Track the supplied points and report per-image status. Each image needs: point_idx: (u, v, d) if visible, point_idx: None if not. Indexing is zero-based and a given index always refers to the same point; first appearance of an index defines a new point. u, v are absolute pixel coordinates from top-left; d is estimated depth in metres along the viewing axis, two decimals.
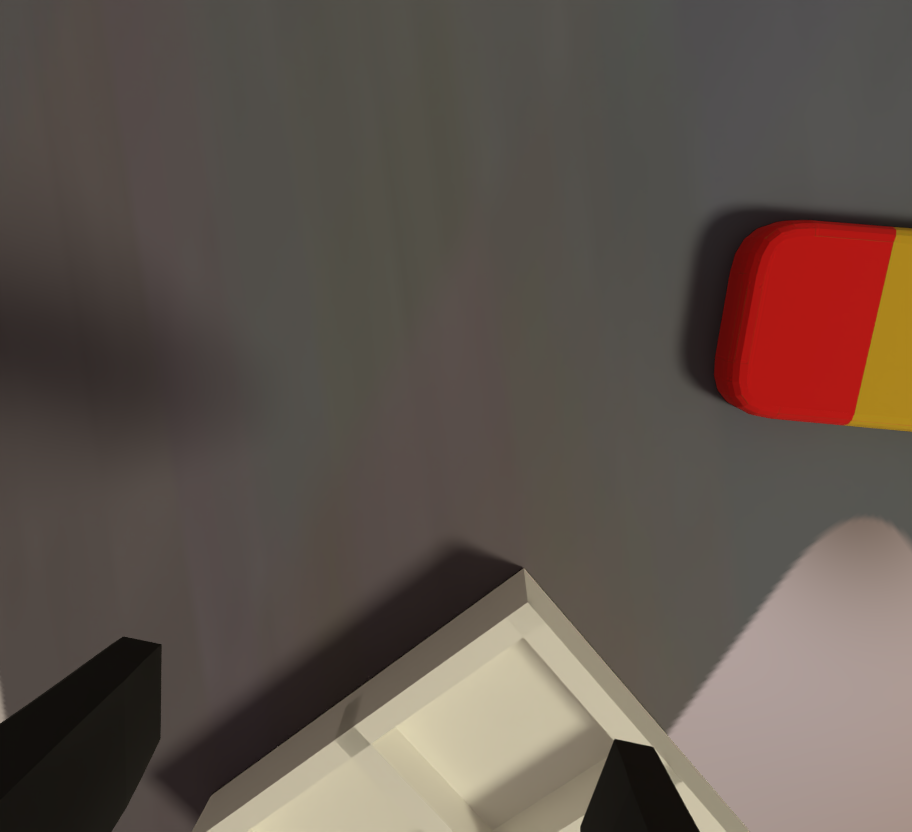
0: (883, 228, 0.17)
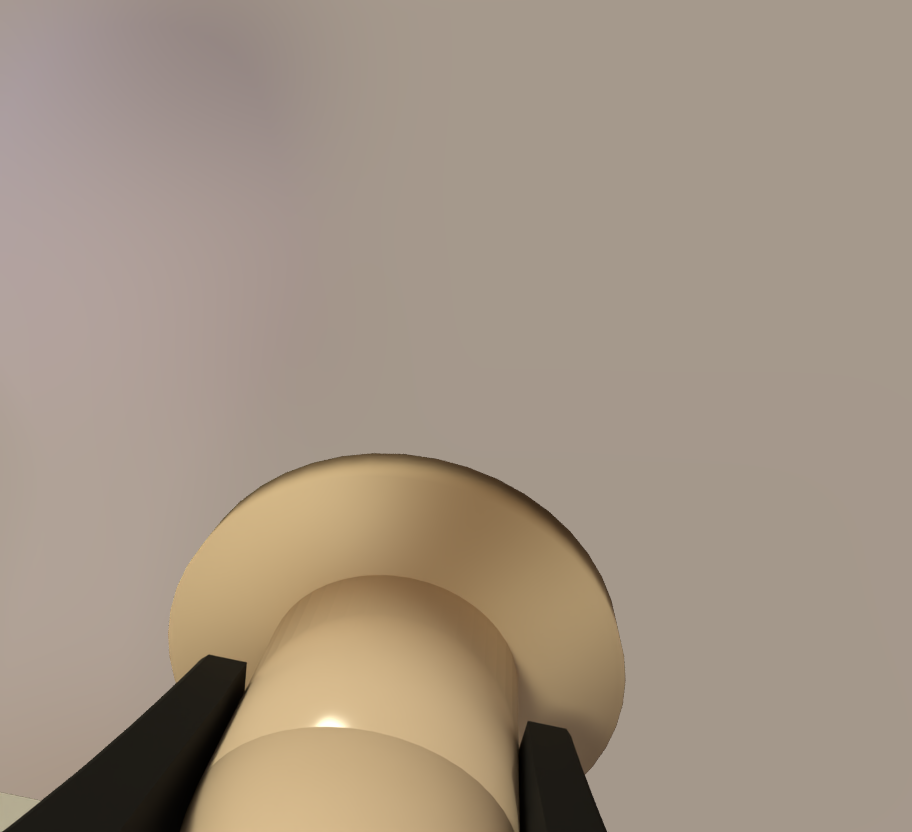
0: None
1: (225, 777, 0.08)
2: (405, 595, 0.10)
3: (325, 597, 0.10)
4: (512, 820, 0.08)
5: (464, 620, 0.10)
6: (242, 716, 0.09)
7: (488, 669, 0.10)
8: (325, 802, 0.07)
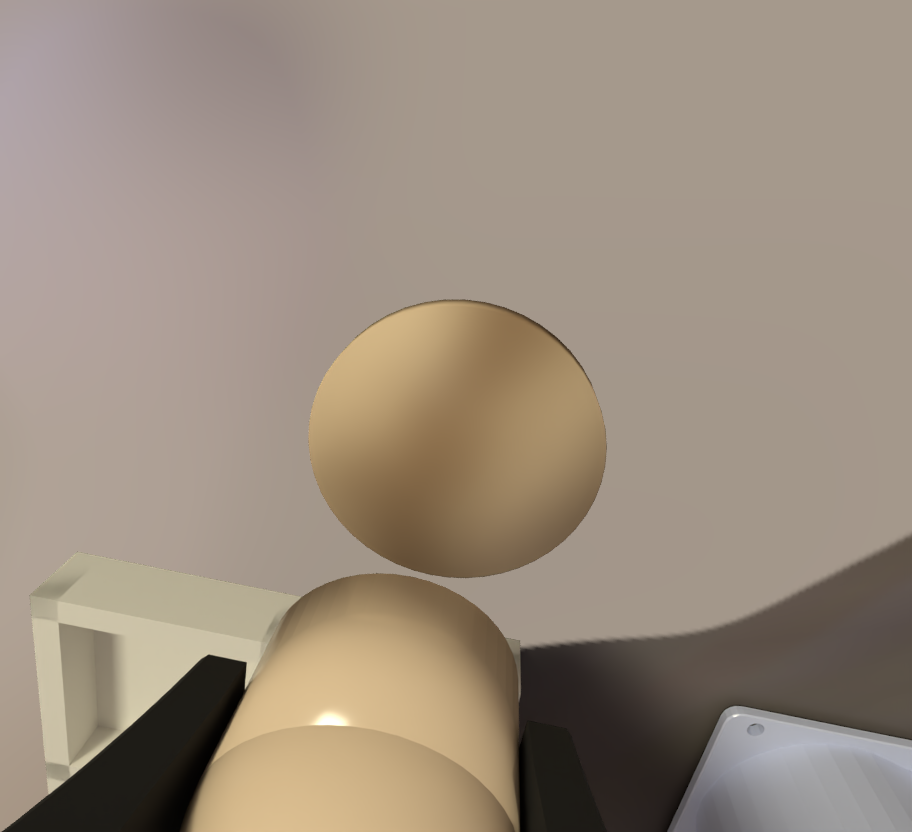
0: None
1: (225, 775, 0.07)
2: (405, 594, 0.10)
3: (325, 596, 0.10)
4: (512, 818, 0.08)
5: (464, 619, 0.10)
6: (242, 715, 0.09)
7: (488, 667, 0.10)
8: (326, 800, 0.07)
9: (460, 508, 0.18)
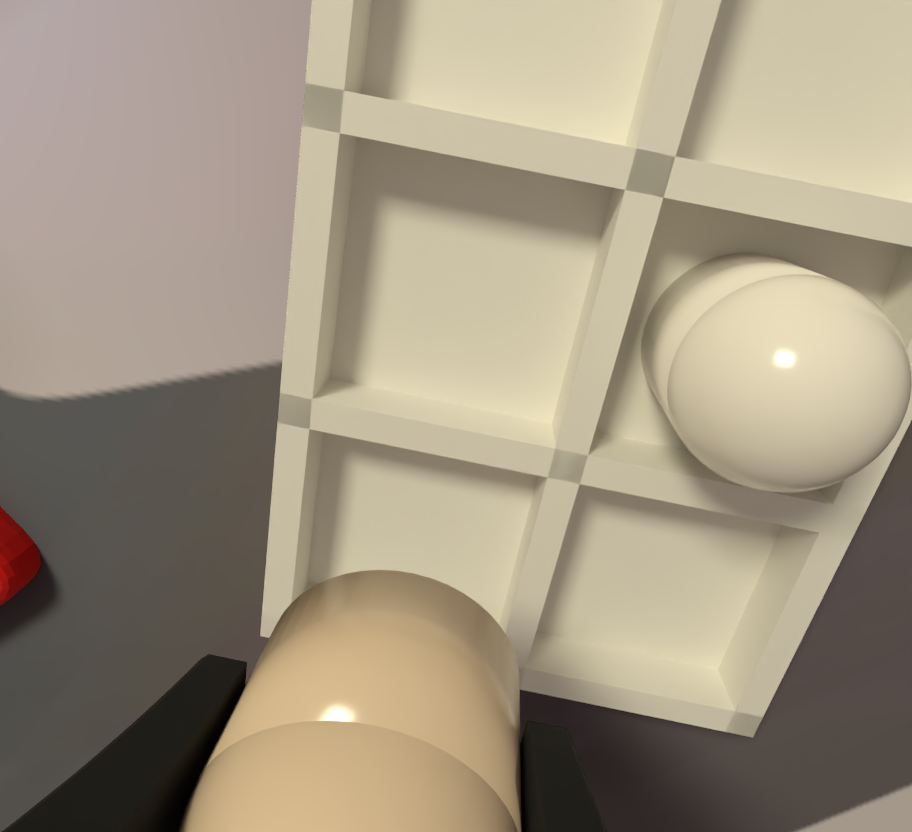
0: None
1: (227, 770, 0.07)
2: (407, 590, 0.10)
3: (327, 591, 0.10)
4: (514, 816, 0.08)
5: (466, 616, 0.10)
6: (243, 710, 0.08)
7: (490, 665, 0.10)
8: (329, 796, 0.07)
9: None
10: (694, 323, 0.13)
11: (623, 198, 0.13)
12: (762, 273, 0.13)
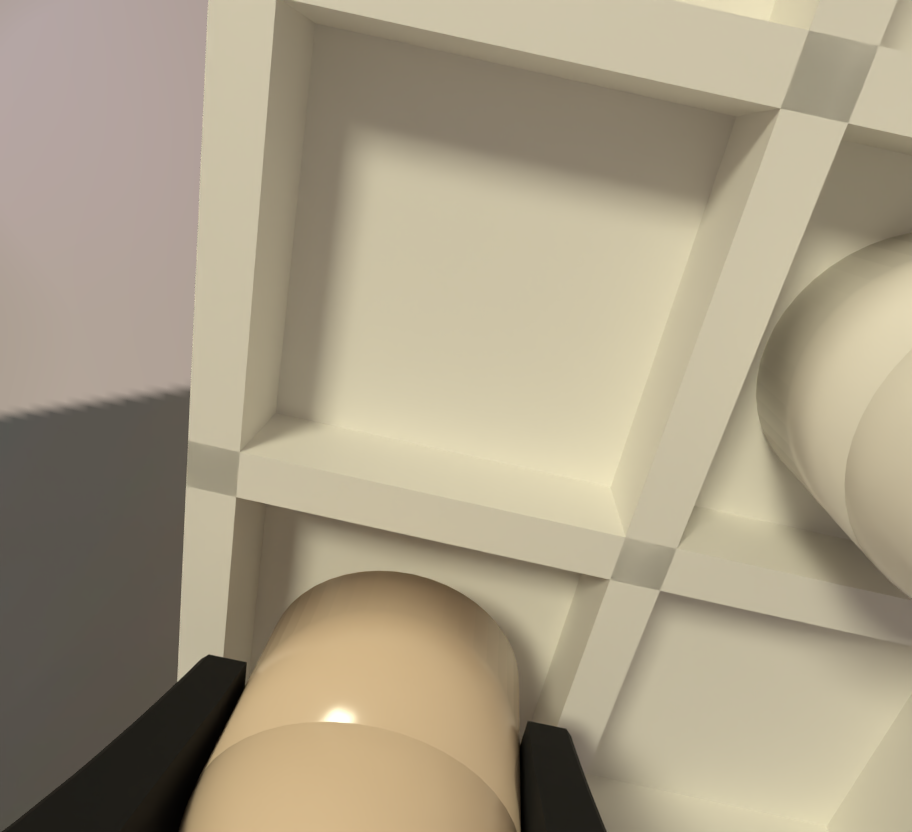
0: None
1: (226, 772, 0.07)
2: (407, 591, 0.10)
3: (326, 592, 0.10)
4: (514, 817, 0.08)
5: (466, 617, 0.10)
6: (243, 711, 0.08)
7: (490, 666, 0.10)
8: (328, 797, 0.07)
9: None
10: None
11: (776, 124, 0.07)
12: None
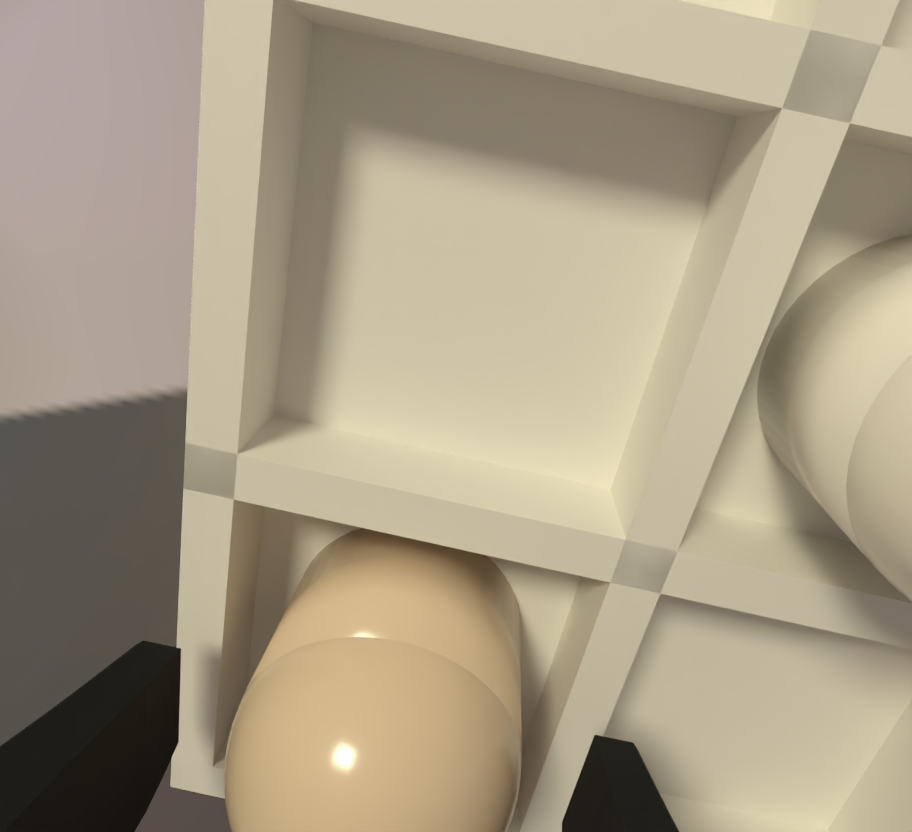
0: None
1: (273, 678, 0.09)
2: None
3: (350, 541, 0.12)
4: (515, 722, 0.09)
5: (474, 562, 0.11)
6: (283, 635, 0.10)
7: (495, 603, 0.11)
8: (361, 692, 0.08)
9: None
10: None
11: (777, 124, 0.07)
12: None
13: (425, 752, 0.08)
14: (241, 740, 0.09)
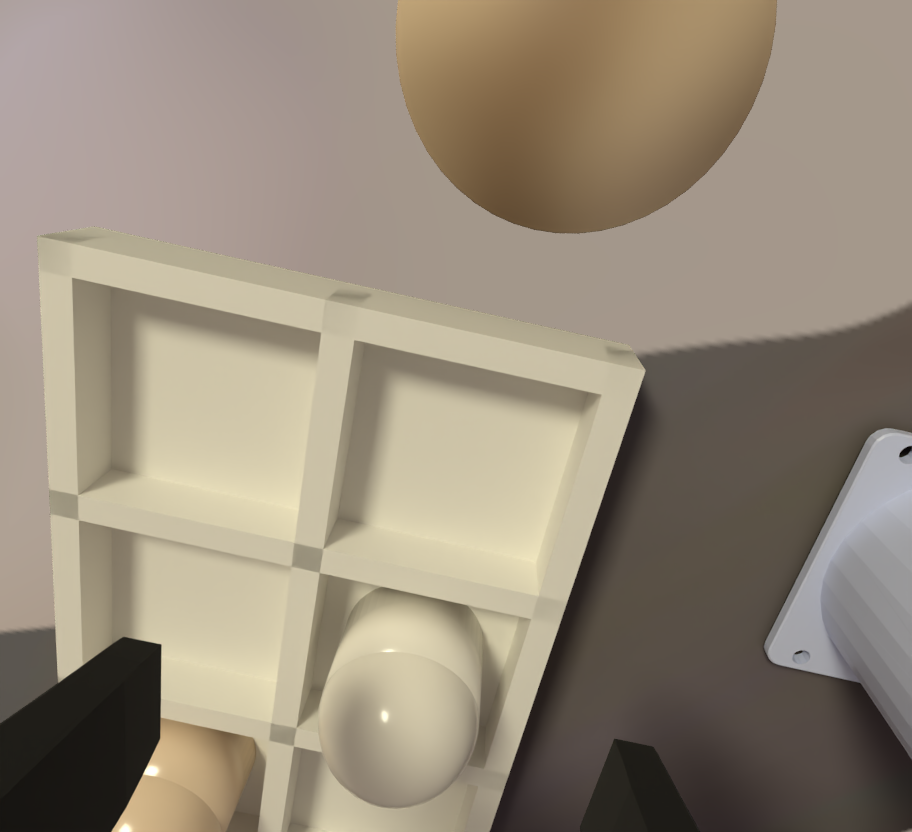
0: None
1: None
2: None
3: None
4: (215, 811, 0.20)
5: None
6: None
7: (225, 744, 0.21)
8: (128, 804, 0.19)
9: (580, 126, 0.14)
10: (331, 677, 0.17)
11: (291, 571, 0.18)
12: (382, 639, 0.17)
13: (153, 831, 0.18)
14: None
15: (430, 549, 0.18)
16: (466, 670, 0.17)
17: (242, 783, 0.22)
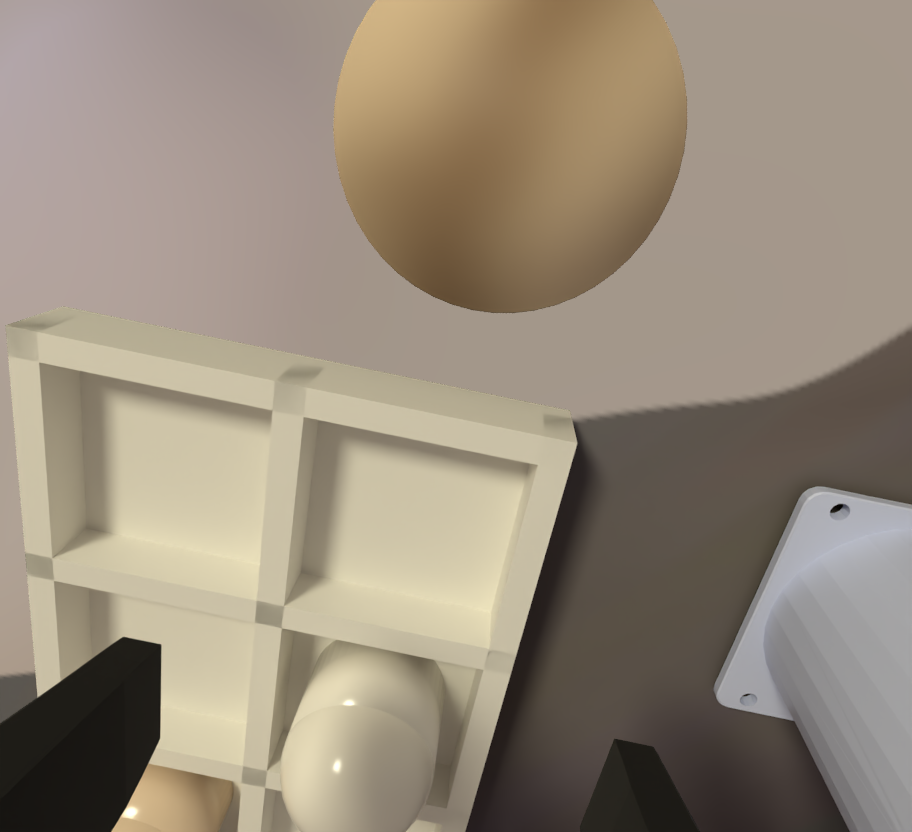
0: None
1: None
2: None
3: None
4: None
5: None
6: None
7: (201, 784, 0.22)
8: None
9: (510, 216, 0.15)
10: (292, 728, 0.18)
11: (254, 627, 0.19)
12: (340, 691, 0.18)
13: None
14: None
15: (388, 602, 0.19)
16: (421, 720, 0.18)
17: (218, 822, 0.23)
